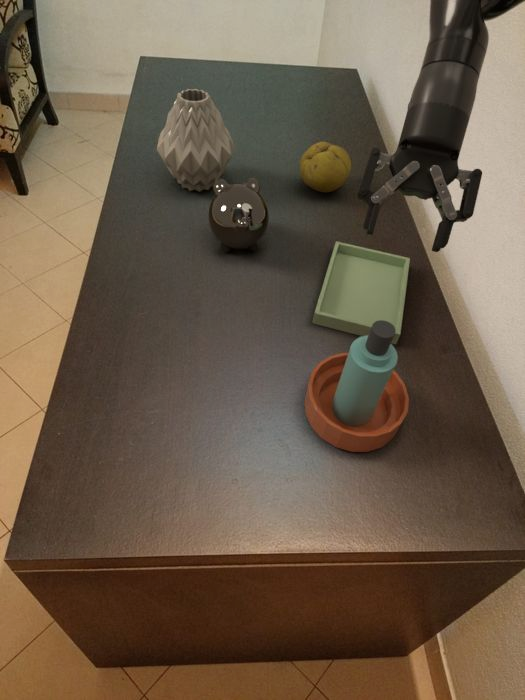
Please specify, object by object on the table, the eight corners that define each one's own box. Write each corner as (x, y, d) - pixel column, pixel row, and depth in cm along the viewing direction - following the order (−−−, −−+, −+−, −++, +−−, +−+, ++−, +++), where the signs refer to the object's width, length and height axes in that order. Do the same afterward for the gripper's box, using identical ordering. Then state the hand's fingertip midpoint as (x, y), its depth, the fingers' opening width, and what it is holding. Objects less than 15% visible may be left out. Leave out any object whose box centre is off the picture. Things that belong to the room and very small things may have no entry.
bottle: (374, 397, 70) (411, 317, 57) (369, 431, 67) (407, 353, 53) (335, 387, 71) (362, 305, 58) (328, 419, 67) (355, 340, 54)
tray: (406, 268, 91) (410, 258, 89) (395, 344, 78) (400, 334, 76) (333, 251, 93) (336, 241, 91) (312, 323, 80) (314, 312, 78)
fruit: (343, 176, 111) (352, 135, 103) (347, 205, 103) (357, 162, 96) (296, 173, 110) (302, 131, 103) (297, 201, 103) (303, 158, 95)
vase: (177, 157, 111) (170, 72, 97) (242, 171, 109) (246, 87, 95) (148, 193, 101) (136, 104, 87) (219, 209, 99) (219, 121, 85)
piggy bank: (259, 217, 98) (263, 166, 89) (271, 264, 89) (276, 212, 80) (206, 219, 97) (204, 167, 88) (212, 267, 87) (211, 215, 78)
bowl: (402, 386, 73) (412, 366, 69) (393, 466, 64) (404, 448, 60) (314, 363, 75) (319, 342, 71) (294, 437, 66) (298, 419, 62)
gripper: (384, 89, 55) (348, 225, 57) (508, 112, 54) (467, 252, 55) (378, 115, 63) (346, 235, 64) (486, 137, 61) (451, 259, 63)
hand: (402, 243), depth 60 cm, fingers open, 8 cm apart
